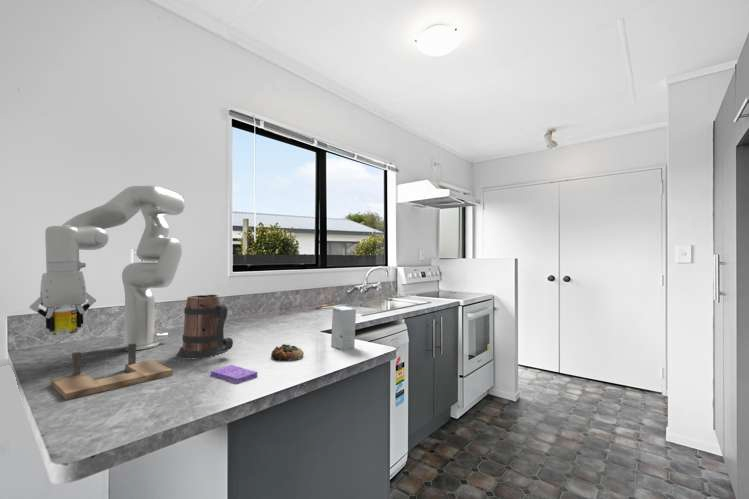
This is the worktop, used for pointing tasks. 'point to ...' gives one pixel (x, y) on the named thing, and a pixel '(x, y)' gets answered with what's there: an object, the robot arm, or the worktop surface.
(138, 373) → the shelf board
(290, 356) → the bread roll
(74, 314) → the supplement bottle
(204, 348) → the tankard
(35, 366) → the worktop surface
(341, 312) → the skincare box
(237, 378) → the sponges
